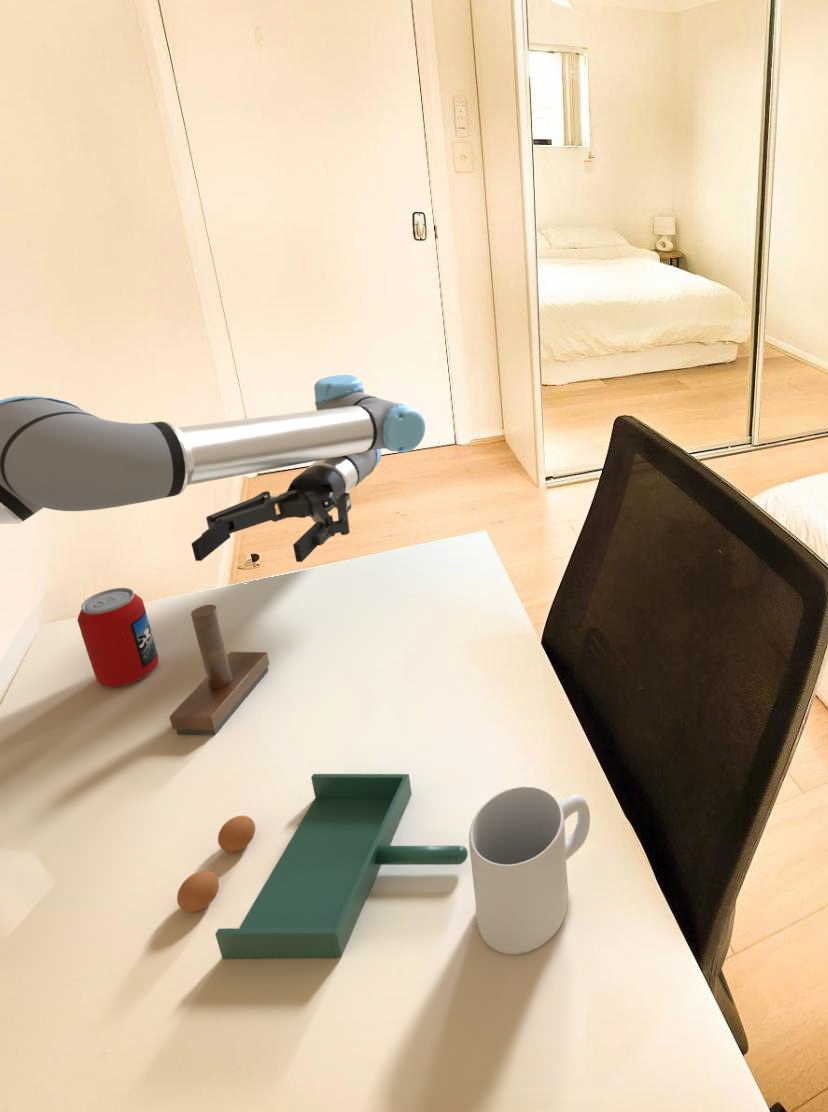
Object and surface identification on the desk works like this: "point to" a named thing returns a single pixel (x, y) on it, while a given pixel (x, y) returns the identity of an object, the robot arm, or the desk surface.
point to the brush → (217, 679)
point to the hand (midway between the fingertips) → (246, 553)
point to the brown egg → (198, 891)
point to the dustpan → (330, 869)
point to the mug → (523, 865)
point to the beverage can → (117, 637)
